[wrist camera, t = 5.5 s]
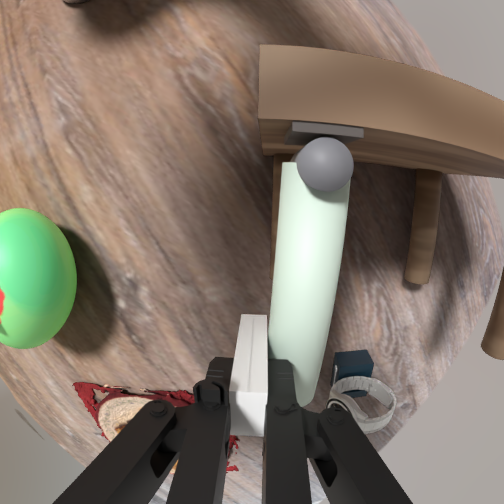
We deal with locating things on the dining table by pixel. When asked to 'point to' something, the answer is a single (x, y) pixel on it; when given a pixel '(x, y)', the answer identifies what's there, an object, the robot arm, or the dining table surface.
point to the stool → (383, 134)
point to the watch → (359, 389)
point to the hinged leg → (308, 258)
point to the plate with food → (129, 408)
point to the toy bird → (33, 278)
